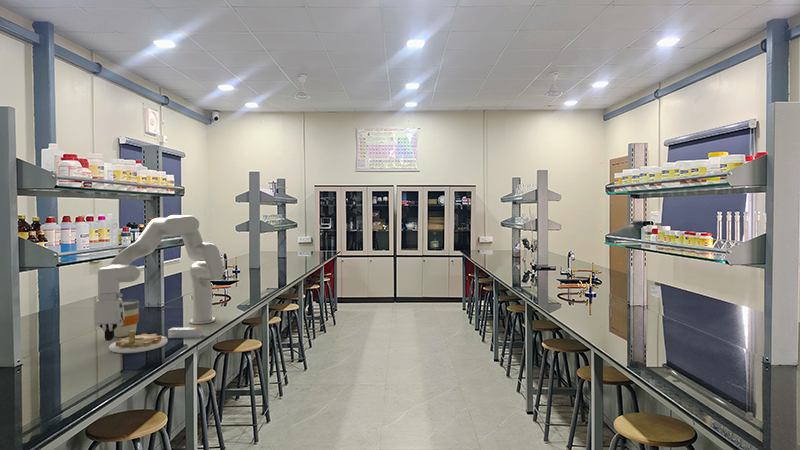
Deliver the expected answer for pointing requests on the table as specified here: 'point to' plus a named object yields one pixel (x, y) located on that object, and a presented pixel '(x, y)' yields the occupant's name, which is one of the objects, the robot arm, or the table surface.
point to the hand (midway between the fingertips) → (109, 339)
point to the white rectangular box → (185, 332)
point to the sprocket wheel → (138, 340)
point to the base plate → (138, 349)
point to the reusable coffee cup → (128, 318)
